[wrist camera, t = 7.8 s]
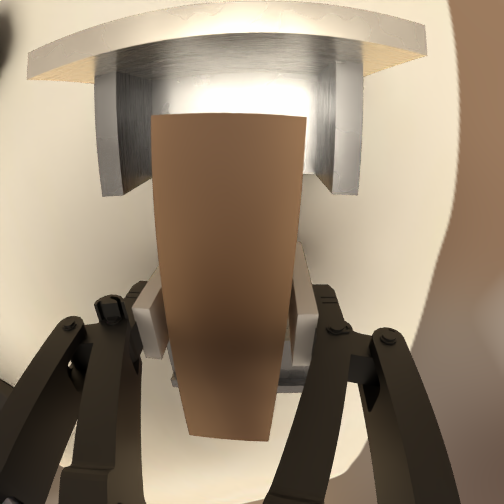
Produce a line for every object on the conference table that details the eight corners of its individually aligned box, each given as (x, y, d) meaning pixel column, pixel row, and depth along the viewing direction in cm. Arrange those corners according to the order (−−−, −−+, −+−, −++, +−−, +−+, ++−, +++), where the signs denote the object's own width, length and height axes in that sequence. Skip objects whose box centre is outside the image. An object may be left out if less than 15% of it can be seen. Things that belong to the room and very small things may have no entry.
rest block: (183, 352, 24) (172, 386, 20) (175, 309, 22) (161, 343, 18) (304, 357, 23) (309, 392, 20) (310, 313, 21) (317, 348, 18)
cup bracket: (142, 167, 17) (40, 222, 8) (139, 74, 15) (28, 52, 6) (340, 166, 17) (415, 223, 8) (342, 69, 14) (425, 25, 5)
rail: (204, 364, 20) (189, 434, 15) (195, 115, 13) (151, 115, 8) (268, 368, 20) (268, 441, 15) (289, 118, 13) (306, 117, 8)
